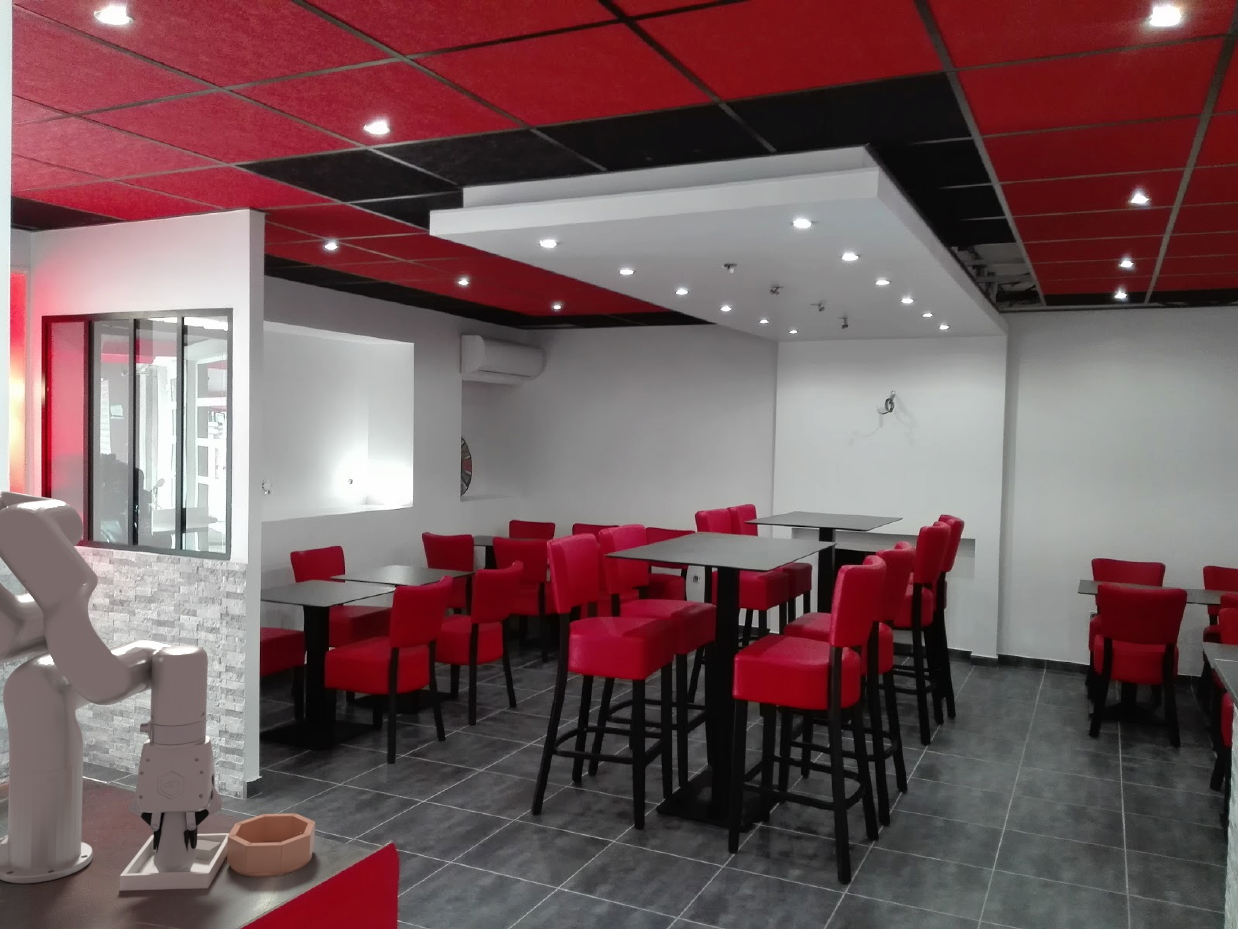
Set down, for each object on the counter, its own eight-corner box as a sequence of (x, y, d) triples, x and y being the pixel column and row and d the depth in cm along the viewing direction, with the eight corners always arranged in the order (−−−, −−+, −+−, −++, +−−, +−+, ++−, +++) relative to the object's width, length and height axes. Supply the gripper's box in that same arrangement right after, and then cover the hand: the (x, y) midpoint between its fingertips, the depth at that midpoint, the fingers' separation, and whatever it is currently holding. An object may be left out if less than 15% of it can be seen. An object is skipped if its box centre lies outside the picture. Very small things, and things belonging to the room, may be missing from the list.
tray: (119, 891, 139) (119, 875, 138) (151, 848, 152) (151, 835, 152) (208, 888, 140) (208, 873, 140) (231, 847, 154) (232, 833, 154)
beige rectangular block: (185, 857, 150) (186, 847, 150) (197, 849, 153) (198, 839, 152) (209, 861, 149) (209, 850, 149) (220, 852, 152) (221, 842, 152)
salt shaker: (179, 884, 141) (181, 796, 140) (144, 879, 142) (146, 791, 142) (204, 867, 147) (206, 782, 146) (170, 862, 148) (172, 777, 147)
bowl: (220, 878, 143) (221, 846, 143) (239, 844, 155) (240, 814, 155) (305, 876, 145) (306, 844, 145) (317, 842, 157) (318, 813, 157)
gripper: (109, 739, 139) (106, 866, 139) (230, 738, 141) (226, 863, 142) (128, 723, 146) (125, 844, 147) (242, 723, 149) (238, 841, 149)
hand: (175, 852), depth 144 cm, fingers closed on salt shaker, 3 cm apart
